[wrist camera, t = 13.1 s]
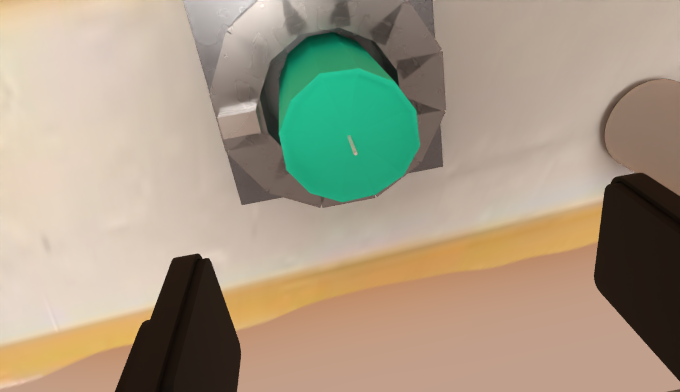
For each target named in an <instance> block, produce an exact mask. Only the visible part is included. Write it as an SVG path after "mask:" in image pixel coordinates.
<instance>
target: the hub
mask: <svg viewBox="0 0 680 392" xmlns="http://www.w3.org/2000/svg"><path fill="white" fill-rule="evenodd" d="M183 2H184V5H185V9H186V12H187V16H188V19H189V23H190V26H191V30H192V33H193V37H194V40H195V44H196V47H197V51H198V54H199V57H200V61H201V64H202V68H203V71H204V75H205V78H206V82H207V85H208V89H209V92H210V98H211V101H212V105H213V108H214V112H215V115H216V119H217V122H218V126H219V129H220V133H221V136H222V140H223V143H224V147H225V150H226V152H227V155H228V158H229V162H230V165H231V169H232V172H233V176H234V179H235V183H236V186H237V190H238V193H239V197H240V200H241V204H242V205H245V204H250V203H255V202H260V201H266V200H271V199H276V198H281V197H285V198H288V199H292V200H295V201H299V202H302V203H306V204H309V205H313V206H316V207H321V205H322V207H323V208H324V207H329V206H335V205H340V204H345V203H350V202H355V201H360V200H366V199H371V198H375V195H372V196H368V197H364V198H359V199H355V200H351V201H346V202H339V201H335V200H332V199H328V198H325V197H321V196H318V195H314V194H311V193H309V192H308V191H307V190H306V189H305V188H304V187H303V186H302V185H301V184H300V183H299V182H298V181H297V180H296V179H295V178H294V177H293V176H292V175H291V174H290V173H289V172H288V171H287V170H286V166H285V161H284V156H283V151H282V147H281V142H280V137H279V78H280V75H281V72H282V69H283V66H284V63H285V60H286V57H287V54H288V53H289V52H290V51H291V50H292V49H294V48H295V47H296V46H297V45H298V44H299V43H300V42H302V41H303V40H304V39H305V38H306V37H307V36H313V35H318V34H324V33H329V32H335V33H338V34H340V35H343V36H345V37H348V38H350V39H353V40H355V41H358V42H359V44H360V45H361V46H362V47H363V48H364V49H365V50H366V51H367V52H368V53H369V54H370V55H371V57H372V58H373V59H374V60H375V61H376V62H377V63H378V64H379V65H380V66H381V67H382V68H383V70H384V71H385V72H386V73H387V74H388V75H389V76H390V77H391V78H392V79H393V80H394V81H395V83H396V84H397V85H398V87H399V88H400V89H401V91H402V92H403V93H404V95H405V96H406V97H407V99H408V100H409V101H410V103H411V104H412V105H413V107H414V108H415V109H416V113H417V122H418V131H419V140H420V147H419V149H418V151H417V153H416V154H415V156H414V158H413V160H412V162H411V163H410V165H409V167H408V169H407V171H406V172H405V174H404V176H405V175H406V174H408V173H411V172H417V171H422V170H427V169H432V168H438V167H443V160H442V144H441V129H440V122H441V120H442V118H443V116H444V114H445V111H444V110H446V103H445V86H444V68H443V52H442V51H440V50H441V47H440V46H439V45H438V43H437V42H436V40H435V34H434V19H433V3H432V0H183ZM404 176H402V177H404ZM402 177H401V178H402ZM401 178H399V179H398V180H400V179H401ZM398 180H396V181H395V182H393V183H392V184H390V185H389V186H388V187H386V188H385V189H383V190H382V191H380V192H379V193H377V194H376V196H379V195H380V194H381V193H383V192H384V191H385V190H387V189H388V188H389V187H390V186H392V185H393V184H394V183H396V182H397V181H398Z"/></svg>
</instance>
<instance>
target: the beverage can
mask: <svg viewBox="0 0 680 392" xmlns="http://www.w3.org/2000/svg"><path fill="white" fill-rule="evenodd" d="M605 144H606V148H607V150H608V152H609V154H610V155H611V156H612V157H613V158H614V159H615V160H616V161H617V162H619V163H620V164H622V165H624V166H625V167H627V168H629V169H630V170H632V171H634V172H635V173H644V174H646V175H648V176H650V177H651V178H653V179H654V180H656V181H657V182H659V183H660V184H662V185H664V186H665V187H667V188H668V189H670V190H671V191H673V192H674V193H676V194H677V195H679V196H680V82H677V81H674V80H669V79H657V80H652V81H648V82H645V83H643V84H641V85H639V86H637V87H635V88H634V89H632V90H631V91H629V92H628V93H627V94H626V95H625V96H624V97H623V98H622V99H621V100H620V101H619V102H618V103H617V104H616V106H615V107H614V109H613V110H612V112H611V114H610V116H609V119H608V121H607V124H606V128H605Z"/></svg>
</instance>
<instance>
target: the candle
mask: <svg viewBox="0 0 680 392" xmlns="http://www.w3.org/2000/svg"><path fill="white" fill-rule="evenodd" d="M279 137H280V142H281V147H282V151H283V156H284V161H285V166H286V170H287V171H288V172H289V173H290V174H291V175H292V176H293V177H294V178H295V179H296V180H297V181H298V182H299V183H300V184H301V185H302V186H303V187H304V188H305V189H306V190H307V191H308V192H309V193H311V194H314V195H318V196H321V197H325V198H328V199H332V200H335V201H339V202H346V201H351V200H355V199H359V198H364V197H368V196H372V195H376V194H377V193H379V192H380V191H382V190H383V189H385V188H386V187H388V186H389V185H390V184H392V183H393V182H395V181H396V180H398V179H399V178H401V177H402V176H404V174H405V172H406V171H407V169H408V167H409V165H410V163H411V162H412V160H413V158H414V156H415V154H416V153H417V151H418V149H419V147H420V140H419V131H418V122H417V113H416V109H415V108H414V107H413V105H412V104H411V103H410V101H409V100H408V99H407V97H406V96H405V95H404V93H403V92H402V91H401V89H400V88H399V87H398V85H397V84H396V83H395V81H394V80H393V79H392V78H391V77H390V76H389V75H388V74H387V73H386V72H385V71H384V70H383V68H382V67H381V66H380V65H379V64H378V63H377V62H376V61H375V60H374V59H373V58H372V57H371V55H370V54H369V53H368V52H367V51H366V50H365V49H364V48H363V47H362V46H361V45H360V44H359V42H358V41H355V40H353V39H350V38H348V37H345V36H343V35H340V34H338V33H335V32H329V33H324V34H318V35H313V36H307V37H306V38H305V39H304V40H303V41H302V42H300V43H299V44H298V45H297V46H296V47H295V48H294V49H292V50H291V51H290V52H289V53H288V54H287V57H286V60H285V63H284V66H283V69H282V72H281V75H280V78H279Z"/></svg>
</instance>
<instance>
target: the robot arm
mask: <svg viewBox="0 0 680 392" xmlns="http://www.w3.org/2000/svg"><path fill="white" fill-rule="evenodd" d="M594 280H595V284H596V286H597V288H598V290H599V291H600V292H601V294H602V295H603V296H604V297H605V298H606V299H607V300H608V301H609V303H610V304H611V305H612V306H613V307H614V308H615V309H616V310H617V312H618V313H619V314H620V315H621V316H622V317H623V318H624V319H625V320H626V322H627V323H628V324H629V325H630V326H631V327H632V328H633V329H634V331H635V332H636V333H637V334H638V335H639V336H640V337H641V338H642V339H643V341H644V342H645V343H646V344H647V345H648V346H649V347H650V349H651V350H652V351H653V352H654V353H655V354H656V355H657V356H658V357H659V358H660V360H661V361H662V362H663V363H664V364H665V365H666V366H667V368H668V369H669V370H670V371H671V372H672V373H673V374H674V375H675V376H676V377H677V379H678V380H679V381H680V196H679V195H677V194H676V193H674V192H673V191H671V190H670V189H668V188H667V187H665V186H664V185H662V184H660V183H659V182H657V181H656V180H654V179H653V178H651V177H650V176H648V175H646V174H644V173H635V174H629V175H624V176H618V177H615V178H614V179H613V180H612V182H611V184H609V185H607V186H606V188H605V192H604V200H603V208H602V216H601V224H600V232H599V240H598V248H597V256H596V264H595V272H594ZM240 360H241V349H240V343H239V340H238V337H237V334H236V331H235V328H234V326H233V323H232V320H231V317H230V314H229V311H228V309H227V306H226V303H225V300H224V297H223V294H222V291H221V289H220V286H219V283H218V280H217V277H216V274H215V271H214V269H213V266H212V263H211V261H210V259H209V258H205V259H202V257H201V256H200V254H193V255H187V256H182V257H176V258H173V260H172V262H171V265H170V267H169V270H168V273H167V275H166V278H165V281H164V283H163V286H162V289H161V292H160V294H159V297H158V300H157V302H156V305H155V308H154V311H153V313H152V316H151V319H150V320H146V321H145V322H143V323H142V325H141V327H140V328H139V331H138V333H137V336H136V339H135V341H134V344H133V346H132V349H131V352H130V354H129V357H128V359H127V362H126V365H125V367H124V370H123V372H122V375H121V377H120V380H119V382H118V385H117V388H116V390H115V392H237V386H238V377H239V369H240ZM668 392H680V390H674V391H668Z"/></svg>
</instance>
